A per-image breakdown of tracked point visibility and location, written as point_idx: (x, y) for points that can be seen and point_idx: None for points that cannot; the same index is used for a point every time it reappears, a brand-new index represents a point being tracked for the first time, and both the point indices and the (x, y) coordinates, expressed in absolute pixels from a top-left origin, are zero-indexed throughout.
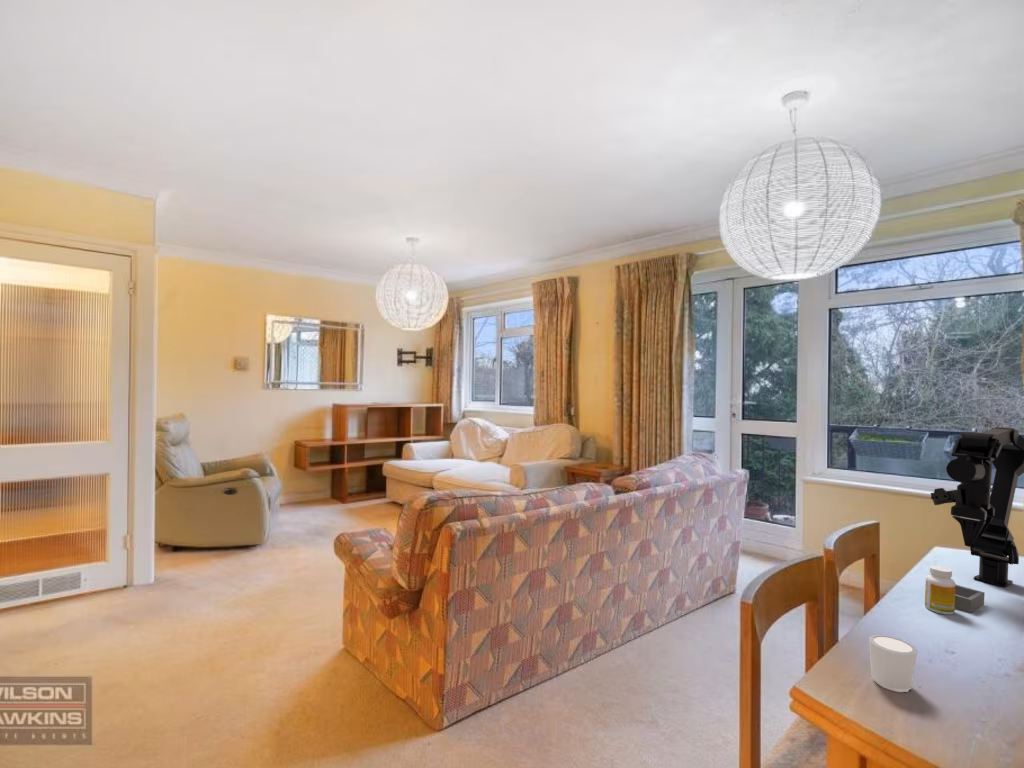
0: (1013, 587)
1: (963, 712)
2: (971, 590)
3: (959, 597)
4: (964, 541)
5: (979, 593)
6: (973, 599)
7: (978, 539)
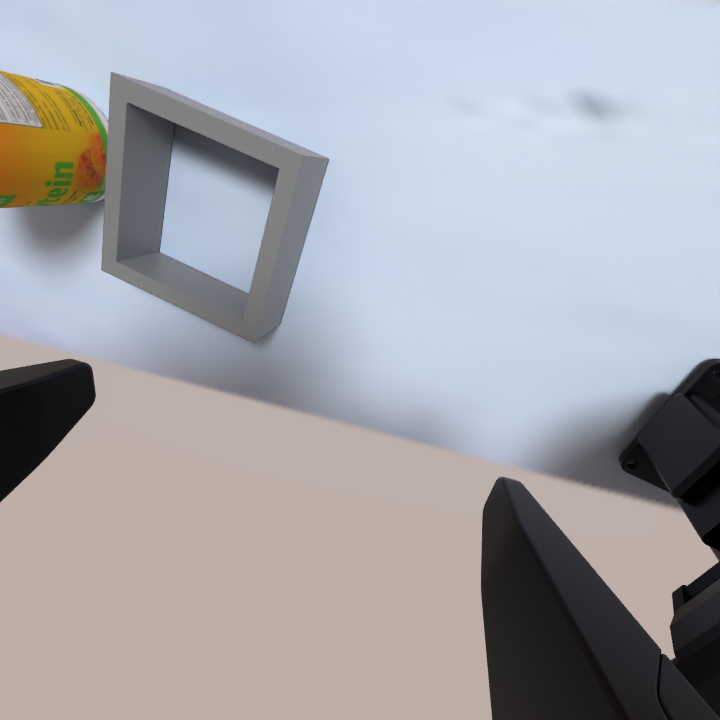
0: (653, 497)
1: None
2: (250, 294)
3: (107, 229)
4: (15, 370)
5: (220, 319)
6: (133, 282)
7: (484, 560)
